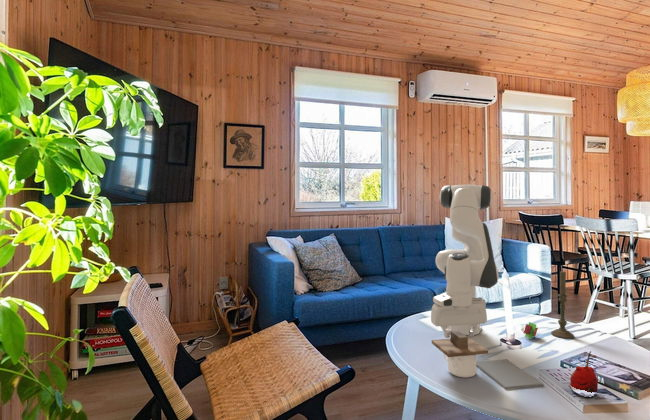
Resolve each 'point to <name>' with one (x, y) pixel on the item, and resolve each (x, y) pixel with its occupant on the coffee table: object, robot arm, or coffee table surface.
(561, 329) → the candlestick holder
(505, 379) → the mat
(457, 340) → the lid
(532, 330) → the geometric puzzle
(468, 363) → the mug
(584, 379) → the candy apple
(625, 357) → the coffee table surface
